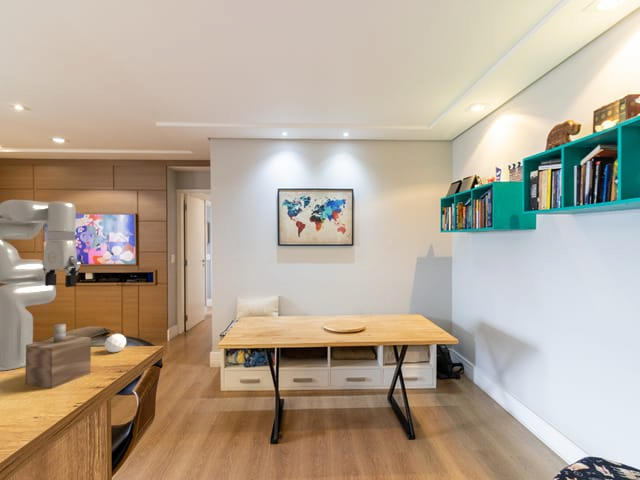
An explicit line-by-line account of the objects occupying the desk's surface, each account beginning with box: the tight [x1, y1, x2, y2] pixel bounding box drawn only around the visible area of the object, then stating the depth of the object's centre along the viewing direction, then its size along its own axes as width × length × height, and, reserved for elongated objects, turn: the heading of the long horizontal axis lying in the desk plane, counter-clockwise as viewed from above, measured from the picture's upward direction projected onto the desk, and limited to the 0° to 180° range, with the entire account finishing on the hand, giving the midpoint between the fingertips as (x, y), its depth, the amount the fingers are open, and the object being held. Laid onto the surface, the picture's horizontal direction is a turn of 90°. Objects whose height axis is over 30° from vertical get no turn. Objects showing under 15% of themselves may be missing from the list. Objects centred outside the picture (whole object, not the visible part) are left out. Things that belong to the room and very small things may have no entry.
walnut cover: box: [24, 323, 92, 389], centre depth 106 cm, size 12×12×18 cm
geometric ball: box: [104, 333, 127, 354], centre depth 132 cm, size 8×8×8 cm
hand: (60, 286), depth 106 cm, fingers open, 9 cm apart
